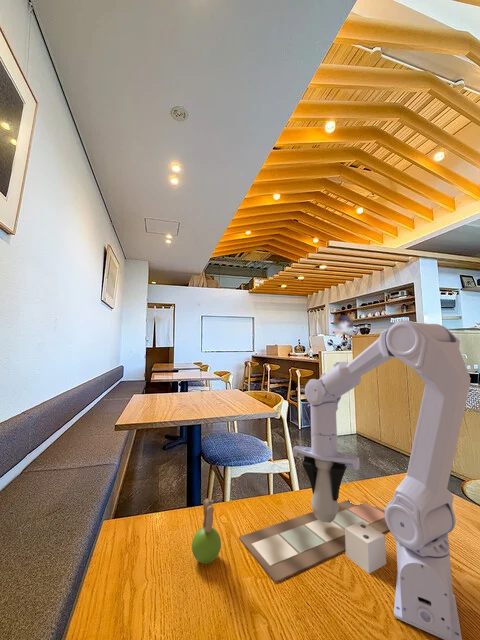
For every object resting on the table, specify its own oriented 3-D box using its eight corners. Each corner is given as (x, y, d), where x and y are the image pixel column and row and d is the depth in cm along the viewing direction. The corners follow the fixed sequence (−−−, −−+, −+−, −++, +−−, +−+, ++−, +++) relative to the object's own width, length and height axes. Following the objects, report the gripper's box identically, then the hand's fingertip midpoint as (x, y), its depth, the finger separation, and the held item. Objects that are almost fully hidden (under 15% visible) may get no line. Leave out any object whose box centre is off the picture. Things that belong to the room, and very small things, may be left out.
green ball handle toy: (193, 578, 47) (195, 503, 49) (190, 553, 53) (192, 486, 55) (224, 572, 49) (225, 499, 50) (217, 548, 55) (219, 483, 56)
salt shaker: (315, 506, 65) (316, 449, 67) (340, 515, 62) (340, 455, 64) (307, 518, 60) (308, 457, 62) (334, 528, 57) (334, 463, 59)
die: (368, 574, 49) (367, 542, 49) (345, 556, 53) (344, 527, 54) (386, 564, 51) (384, 534, 52) (363, 548, 55) (361, 520, 56)
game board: (275, 583, 46) (275, 580, 46) (238, 538, 58) (238, 536, 58) (405, 523, 64) (405, 521, 64) (357, 497, 75) (357, 496, 75)
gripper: (360, 433, 63) (363, 497, 61) (299, 424, 71) (300, 481, 69) (354, 441, 57) (357, 512, 55) (289, 430, 65) (290, 492, 63)
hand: (325, 495), depth 62 cm, fingers closed on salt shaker, 4 cm apart
